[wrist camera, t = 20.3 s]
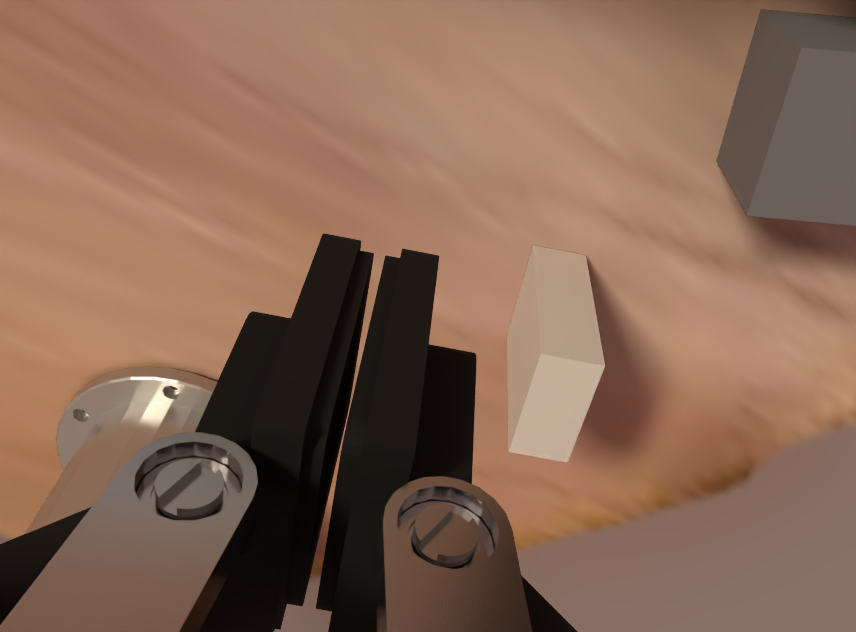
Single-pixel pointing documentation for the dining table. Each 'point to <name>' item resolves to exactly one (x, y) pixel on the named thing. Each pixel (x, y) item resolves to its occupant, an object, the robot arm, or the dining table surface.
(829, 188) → the block
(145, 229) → the dining table surface
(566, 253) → the pair of cream posts
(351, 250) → the robot arm
